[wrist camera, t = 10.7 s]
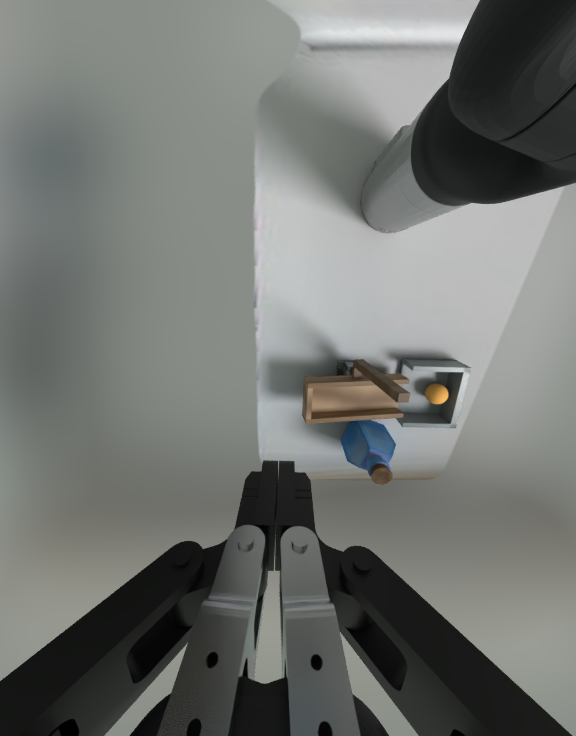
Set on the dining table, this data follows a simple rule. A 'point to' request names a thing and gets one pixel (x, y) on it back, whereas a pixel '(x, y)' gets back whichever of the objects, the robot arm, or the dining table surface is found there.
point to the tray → (421, 377)
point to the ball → (436, 393)
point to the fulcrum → (344, 368)
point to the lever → (354, 395)
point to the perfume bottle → (369, 449)
